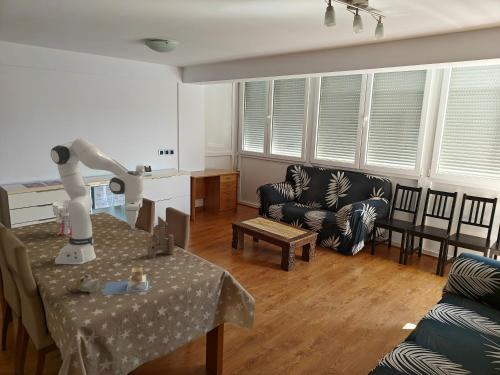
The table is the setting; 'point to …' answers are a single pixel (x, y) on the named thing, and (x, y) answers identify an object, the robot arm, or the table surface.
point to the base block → (137, 284)
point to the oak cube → (137, 274)
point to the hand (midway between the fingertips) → (132, 228)
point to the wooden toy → (160, 240)
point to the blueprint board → (122, 288)
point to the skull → (62, 216)
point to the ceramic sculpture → (85, 285)
